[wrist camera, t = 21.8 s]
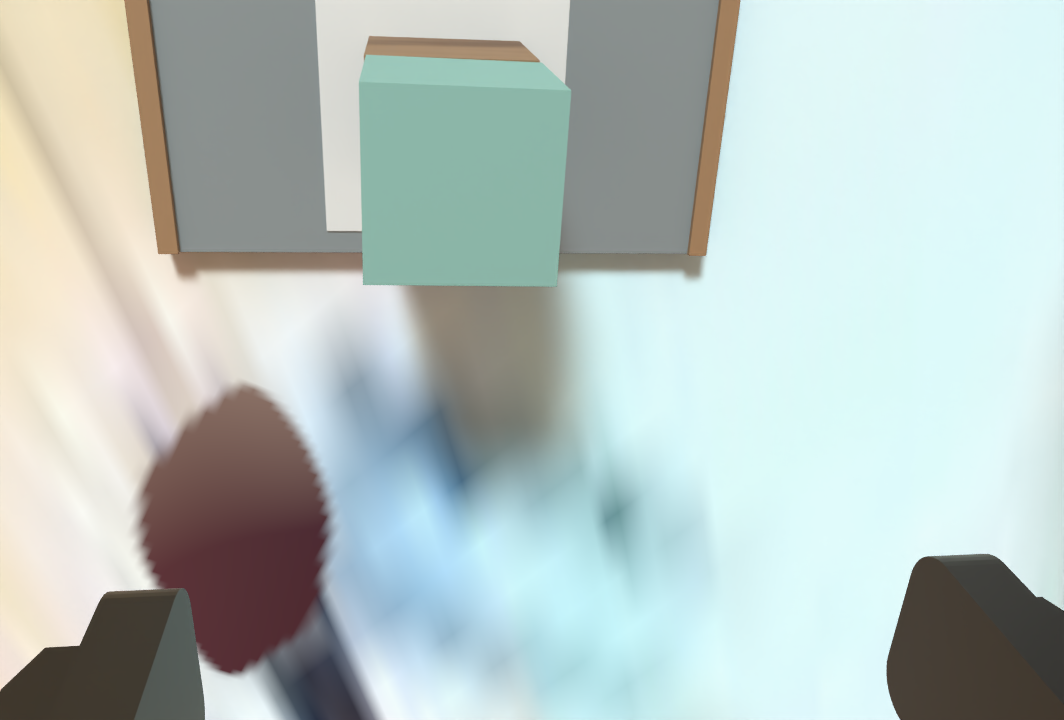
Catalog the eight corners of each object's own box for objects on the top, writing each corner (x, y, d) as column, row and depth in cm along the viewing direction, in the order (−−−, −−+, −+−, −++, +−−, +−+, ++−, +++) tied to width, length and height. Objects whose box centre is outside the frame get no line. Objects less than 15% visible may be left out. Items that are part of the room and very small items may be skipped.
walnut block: (369, 35, 36) (363, 55, 31) (519, 41, 37) (539, 60, 31) (373, 185, 38) (369, 227, 33) (513, 186, 39) (532, 228, 34)
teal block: (366, 54, 31) (359, 81, 25) (542, 62, 31) (571, 90, 26) (369, 226, 33) (363, 285, 28) (532, 229, 34) (556, 286, 29)
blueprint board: (127, -59, 35) (116, -59, 33) (731, -30, 38) (744, -29, 36) (166, 242, 40) (158, 253, 38) (696, 245, 43) (705, 255, 42)
